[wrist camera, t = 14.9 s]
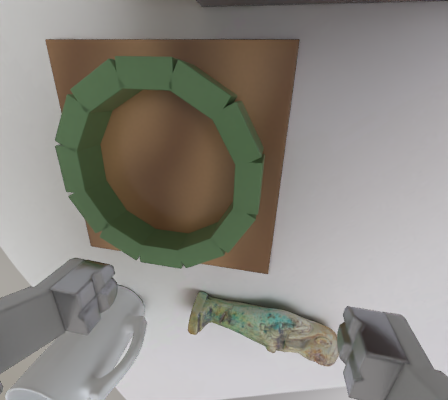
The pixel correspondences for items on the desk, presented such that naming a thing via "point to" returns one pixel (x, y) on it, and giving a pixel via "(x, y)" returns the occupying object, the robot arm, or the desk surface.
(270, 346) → the figurine
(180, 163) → the cork mat
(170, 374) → the desk surface
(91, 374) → the mug
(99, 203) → the ring
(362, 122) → the desk surface
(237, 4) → the peg plinth
